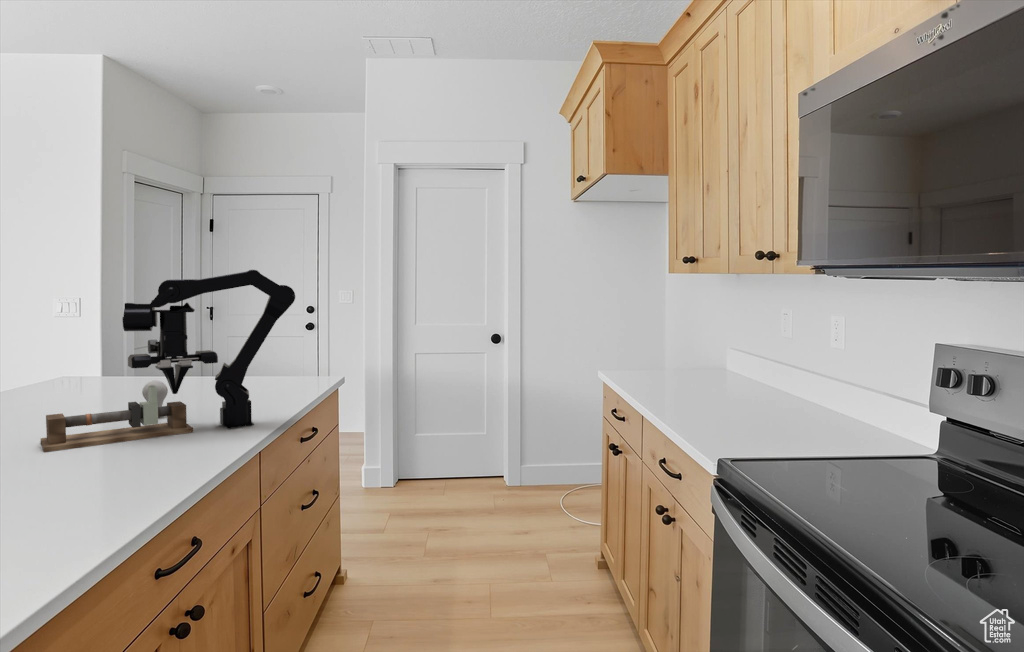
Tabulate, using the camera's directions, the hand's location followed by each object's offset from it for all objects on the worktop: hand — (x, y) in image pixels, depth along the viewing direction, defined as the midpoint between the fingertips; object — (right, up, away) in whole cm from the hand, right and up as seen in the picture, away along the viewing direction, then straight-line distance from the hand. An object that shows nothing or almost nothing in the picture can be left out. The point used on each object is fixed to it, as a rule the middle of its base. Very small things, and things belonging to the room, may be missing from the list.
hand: (174, 393), depth 150 cm
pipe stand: (-9, -9, -7) cm, 15 cm away
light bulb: (-13, -8, +14) cm, 21 cm away
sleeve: (-4, -7, -3) cm, 9 cm away
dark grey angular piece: (-7, -7, -5) cm, 11 cm away
